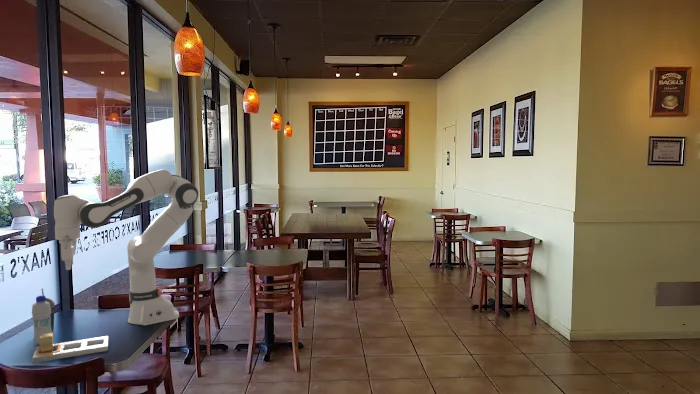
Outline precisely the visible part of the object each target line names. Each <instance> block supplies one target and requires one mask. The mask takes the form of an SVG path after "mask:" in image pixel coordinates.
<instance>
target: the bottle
mask: <svg viewBox="0 0 700 394" xmlns="http://www.w3.org/2000/svg"><path fill="white" fill-rule="evenodd" d="M46 298H47V297H46V295H44V296H43V295H38V296H36V298H35V303H33V304H32V306H31V316H32V319H33V340H34V345H36V346H40V336H41V334H47V333H52V330H51V317H50V314H51V307H50V303H49V302H47V301H46Z"/></svg>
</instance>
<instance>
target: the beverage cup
mask: <svg viewBox="0 0 700 394" xmlns="http://www.w3.org/2000/svg"><path fill="white" fill-rule="evenodd" d="M41 294H42V295H41V296H45V293H44V288H41ZM46 301H47V302H49V303H50V307H51V314H50V317H51V330H52V333H53V334H54V330H55V329H54V328H55V311H56V304H55V301H54V300H53V299H51V298H49V297H46Z"/></svg>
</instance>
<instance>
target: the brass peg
mask: <svg viewBox="0 0 700 394" xmlns="http://www.w3.org/2000/svg"><path fill="white" fill-rule="evenodd" d="M54 344H55V342H54V332H53V333H47V334H41V336H40V345H39V346H40V350H41V353H46V352H53V351H54Z"/></svg>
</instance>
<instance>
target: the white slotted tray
mask: <svg viewBox="0 0 700 394" xmlns="http://www.w3.org/2000/svg"><path fill="white" fill-rule="evenodd" d="M108 351H109V335H104V336H98V337H91V338H85V339H78V340H72V341H64V342H59V343H58V342H57V343H54V351H53V352H46V353H41V350H40V345H37V346H36V349H35V351H34V353H33V356H32V364H37V363H42V362H43V363H44V362H47V361H54V360H60V359H66V358H73V357H78V356H84V355H90V354H96V353H100V352H101V353H103V352H108Z"/></svg>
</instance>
